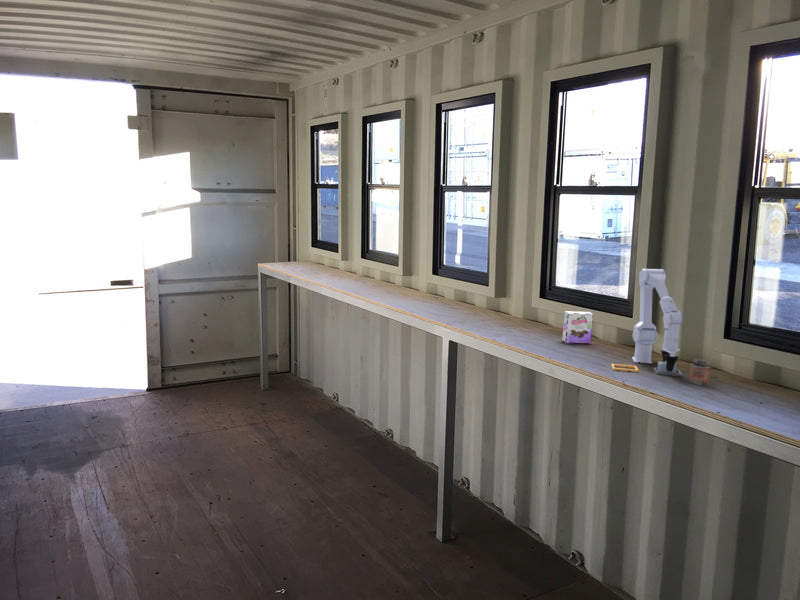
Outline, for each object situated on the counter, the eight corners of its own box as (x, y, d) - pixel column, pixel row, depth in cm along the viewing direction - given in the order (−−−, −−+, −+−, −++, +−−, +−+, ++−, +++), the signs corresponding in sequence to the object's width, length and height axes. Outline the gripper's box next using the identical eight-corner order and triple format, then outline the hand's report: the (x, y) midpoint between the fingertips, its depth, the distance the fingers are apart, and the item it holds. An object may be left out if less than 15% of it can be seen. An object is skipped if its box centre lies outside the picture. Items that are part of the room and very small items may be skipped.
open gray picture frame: (653, 369, 287) (653, 367, 286) (678, 371, 284) (678, 369, 284) (656, 374, 279) (656, 371, 279) (682, 376, 276) (682, 374, 276)
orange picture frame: (611, 365, 291) (611, 363, 290) (635, 368, 288) (636, 365, 288) (613, 370, 283) (613, 368, 283) (638, 372, 280) (638, 370, 280)
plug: (657, 371, 285) (658, 359, 284) (673, 372, 283) (675, 361, 282) (658, 373, 280) (659, 362, 279) (675, 375, 279) (677, 363, 278)
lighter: (686, 381, 269) (689, 358, 267) (690, 380, 271) (693, 357, 269) (706, 386, 263) (708, 362, 261) (709, 384, 265) (712, 361, 263)
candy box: (565, 343, 335) (567, 312, 332) (561, 341, 340) (564, 310, 338) (591, 344, 335) (593, 313, 333) (587, 341, 341) (589, 311, 339)
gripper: (684, 342, 271) (680, 373, 273) (677, 336, 285) (674, 365, 287) (666, 341, 273) (663, 372, 275) (660, 335, 287) (657, 364, 289)
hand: (667, 369), depth 281 cm, fingers open, 7 cm apart
